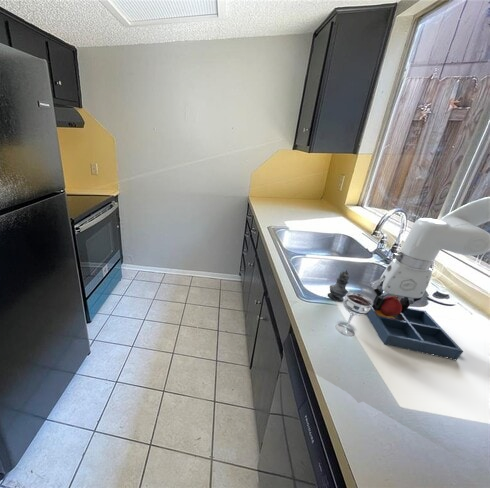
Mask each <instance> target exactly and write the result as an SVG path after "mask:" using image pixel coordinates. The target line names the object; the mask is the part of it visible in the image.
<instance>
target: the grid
mask: <svg viewBox="0 0 490 488" xmlns="http://www.w3.org/2000/svg"><path fill="white" fill-rule="evenodd" d="M365 316H366V317H367V319H368V321H369V323H370V325H372V327H373V329H374V330H375V333H376V334H377V336H378V337H379V339H380V340H381V342H382V344H383V345H386V346H391V347H394V348H400V349H403V350H408V349H409V351H413V352H417V351H418V352H417V353H422V352H423V354H426V353H428V354H427V355H431V354H434V355H433V356H435V355H438V356H437V357H440V356H442V357H441V358H444V357H448V358H447V359H449V358H452V359H451V360H453V359H456V360H455V361H457V360H458V359H459V358H460V357H461V355H462V354H463V352H464V350H463V349H462V348H461V347H460V346H459V345H458V344H457V342H455V340H454V339H452V337H451V336H449V334H448V333H447V332H446V331H445V329H443V328H442V327H441V326H440V325H439V324H438V323H437V321H435V319H434V318H433V317H432V316H431V315H430V314H429V313H428V312H427V310H424V309H418V308H413V307H408V309H407V310H406V311H405V313H404V314H402V313H400V314H398V315H396V316H385V315H383V313H382V312H381V311H380V310H379V309H377V308H376V306H375V305H374V304H373V306H371V311H370V312H369V313H368V314H366V315H365Z"/></svg>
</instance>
